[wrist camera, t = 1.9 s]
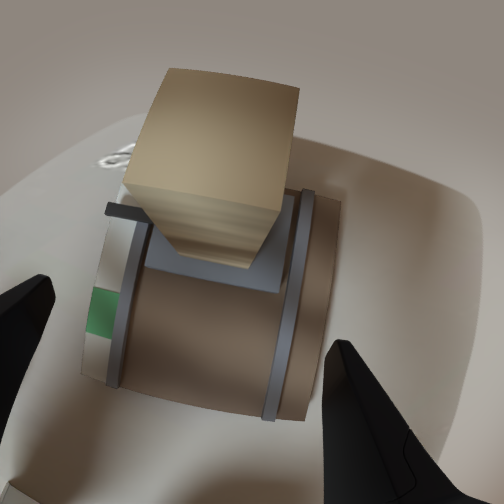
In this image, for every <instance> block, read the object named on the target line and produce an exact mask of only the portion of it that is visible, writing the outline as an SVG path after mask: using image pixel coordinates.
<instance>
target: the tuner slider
mask: <svg viewBox="0 0 504 504" xmlns="http://www.w3.org/2000/svg"><path fill="white" fill-rule="evenodd" d="M299 90H300V89H299V88H297V87H292V86H288V85H284V84H279V83H274V82H269V81H264V80H259V79H254V78H248V77H242V76H236V75H230V74H223V73H215V72H208V71H199V70H188V69H176V68H169V70H168V71H167V74H166V76H165V78H164V80H163V82H162V84H161V86H160V88H159V90H158V92H157V95H156V97H155V99H154V101H153V104H152V106H151V108H150V110H149V113H148V115H147V117H146V120H145V122H144V125H143V127H142V130H141V132H140V135H139V137H138V140H137V142H136V145H135V147H134V150H133V153H132V155H131V158H130V161H129V164H128V167H127V169H126V172H125V175H124V178H123V181H122V183H123V184H124V186H125V187H126V188H127V190H128V191H129V192H130V193H131V195H132V196H133V197H134V199H135V200H136V201H137V203H138V204H139V205H140V206H141V208H140V207H134V206H129V205H123V204H118V203H112V202H108V203H107V207H106V210H105V213H104V214H105V215H107V216H112V217H117V218H122V219H127V220H132V221H138V222H143V223H148V224H153V225H154V228H153V232H152V236H151V240H150V244H149V248H148V252H147V256H146V260H145V265H144V266H146V267H148V268H152V269H156V270H161V271H165V272H170V273H174V274H179V275H184V276H189V277H193V278H198V279H203V280H208V281H213V282H218V283H223V284H228V285H233V286H238V287H243V288H248V289H253V290H259V291H264V292H269V293H275V294H277V293H279V289H280V284H281V278H282V272H283V266H284V260H285V254H286V248H287V242H288V236H289V230H290V223H291V217H292V211H293V204H294V196H290V195H285V194H284V188H285V182H286V176H287V169H288V163H289V157H290V150H291V144H292V138H293V130H294V124H295V117H296V111H297V104H298V97H299Z"/></svg>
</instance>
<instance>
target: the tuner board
mask: <svg viewBox="0 0 504 504" xmlns="http://www.w3.org/2000/svg"><path fill="white" fill-rule="evenodd" d="M284 194H285V195H290V196H294V204H293V211H292V217H291V223H290V230H289V236H288V242H287V248H286V254H285V260H284V266H283V272H282V278H281V284H280V289H279V293H277V294H275V293H269V292H264V291H259V290H253V289H248V288H243V287H238V286H233V285H228V284H223V283H218V282H213V281H208V280H203V279H198V278H193V277H189V276H184V275H179V274H174V273H170V272H165V271H161V270H156V269H152V268H148V267H146V266H144V265H145V260H146V256H147V252H148V248H149V244H150V240H151V236H152V232H153V228H154V225H153V224H148V223H143V222H138V221H132V220H127V219H122V218H117V217H112V216H111V220H110V223H109V227H108V230H107V234H106V238H105V242H104V246H103V250H102V254H101V258H100V262H99V266H98V271H97V275H96V280H95V285H94V287H93V292H92V297H91V302H90V308H89V314H88V319H87V326H86V335H85V343H84V350H83V358H82V367H81V374H82V375H85V376H88V377H91V378H93V379H96V380H99V381H102V382H105V383H106V386H109V387H112V388H116V389H117V388H119V387H122V388H125V389H129V390H132V391H136V392H139V393H143V394H146V395H150V396H154V397H158V398H162V399H166V400H170V401H174V402H178V403H183V404H187V405H192V406H197V407H201V408H207V409H212V410H217V411H223V412H229V413H235V414H242V415H249V416H256V417H261V419H262V420H264V421H273V422H275V419H282V420H293V421H305V417H306V413H307V409H308V405H309V401H310V396H311V392H312V387H313V383H314V378H315V373H316V368H317V363H318V358H319V353H320V348H321V343H322V337H323V332H324V326H325V320H326V314H327V308H328V302H329V296H330V289H331V282H332V275H333V268H334V261H335V253H336V245H337V237H338V228H339V218H340V208H341V201H337V200H333V199H329V198H325V197H321V196H317V195H314V194H315V191H312V190H307V189H303V190H302V191H301V192H300V191H295V190H291V189H286V188H284ZM116 203H118V204H123V205H129V206H134V207H140V208H141V206H140V205H139V204H138V203H137V201H136V200H135V199H134V197H133V196H132V195H131V193H130V192H129V191H128V190H127V188H126V187H125V186H124V184H123V183H122V184H121V187H120V190H119V193H118V196H117V200H116Z"/></svg>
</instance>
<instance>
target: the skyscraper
mask: <svg viewBox="0 0 504 504" xmlns="http://www.w3.org/2000/svg"><path fill="white" fill-rule="evenodd" d="M0 504H40V503H38V502H37V501H35V500H33V499H32V498H30V497H28V496H27V495H25V494H24V493H22V492H20V491H19V490H17V489H16V488H14V487H13V486H11V485H10V483H8V482H7V483H6V485H5V488H4V490H3V492H2V494H1V496H0Z"/></svg>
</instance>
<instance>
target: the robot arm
mask: <svg viewBox="0 0 504 504" xmlns="http://www.w3.org/2000/svg"><path fill="white" fill-rule="evenodd" d="M55 298H56V297H55V292H54V288H53V285H52V281H51V279H50V277H48V276H46V275H43V274H38V275H36V276H34V277H32V278H30V279H28V280H26V281H25V282H23V283H21V284H19V285H17V286H15V287H14V288H12V289H10V290H8V291H6V292H5V293H3V294H1V295H0V444H1V440H2V437H3V433H4V430H5V427H6V424H7V421H8V418H9V415H10V412H11V409H12V407H13V404H14V401H15V398H16V396H17V393H18V391H19V388H20V386H21V383H22V381H23V378H24V376H25V373H26V371H27V369H28V366H29V364H30V362H31V359H32V357H33V355H34V353H35V351H36V348H37V346H38V344H39V342H40V339H41V337H42V334H43V331H44V329H45V326H46V323H47V321H48V318H49V316H50V313H51V310H52V308H53V305H54V303H55ZM322 425H323V457H324V504H490V503H487V502H484V501H481V500H478V499H475V498H473V497H470V496H467V495H465V494H464V493H462V492H461V491H459V490H458V489H457V488H456V487H455V486H454V485H453V484H452V482H451V481H450V480H449V479H448V477H447V476H446V475H445V474H444V473H443V472H442V470H441V469H440V468H439V467H438V465H437V464H436V463H435V462H434V460H433V459H432V458H431V457H430V455H429V454H428V453H427V452H426V450H425V449H424V447H423V446H422V445H421V443H420V442H419V440H418V439H417V438H416V436H415V435H414V433H413V432H412V430H411V429H409V426H408V424H407V423H406V421H405V420H404V418H403V417H402V415H401V414H400V412H399V411H398V410H397V408H396V407H395V405H394V404H393V402H392V401H391V399H390V398H389V396H388V395H387V394H386V392H385V391H384V389H383V388H382V386H381V385H380V383H379V382H378V381H377V379H376V378H375V376H374V375H373V373H372V372H371V371H370V369H369V368H368V366H367V365H366V363H365V362H364V361H363V359H362V358H361V356H360V355H359V353H358V352H357V351H356V349H355V348H354V346H353V345H352V344H351V342H350V341H348V340H341V339H337V340H335V341H334V343H333V345H332V346H331V348H330V350H329V351H328V353H327V355H326V357H325V361H324V378H323V394H322Z"/></svg>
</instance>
